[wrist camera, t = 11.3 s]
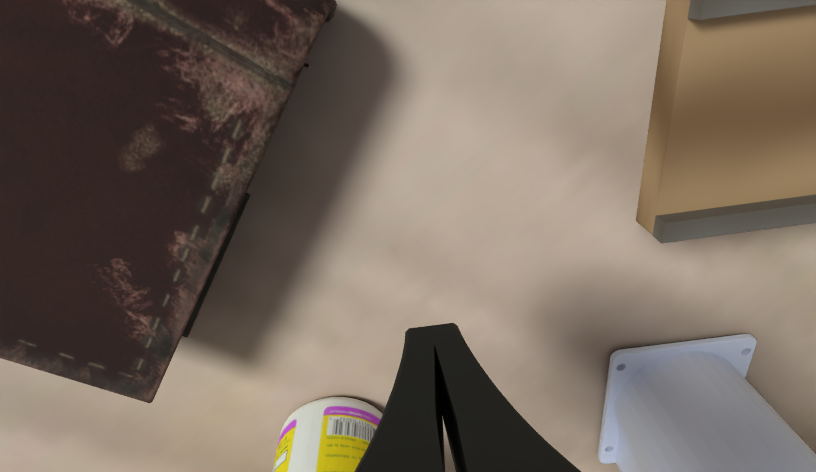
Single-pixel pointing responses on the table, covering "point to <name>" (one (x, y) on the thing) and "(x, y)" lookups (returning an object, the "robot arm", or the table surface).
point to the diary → (130, 169)
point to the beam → (731, 120)
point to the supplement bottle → (326, 436)
